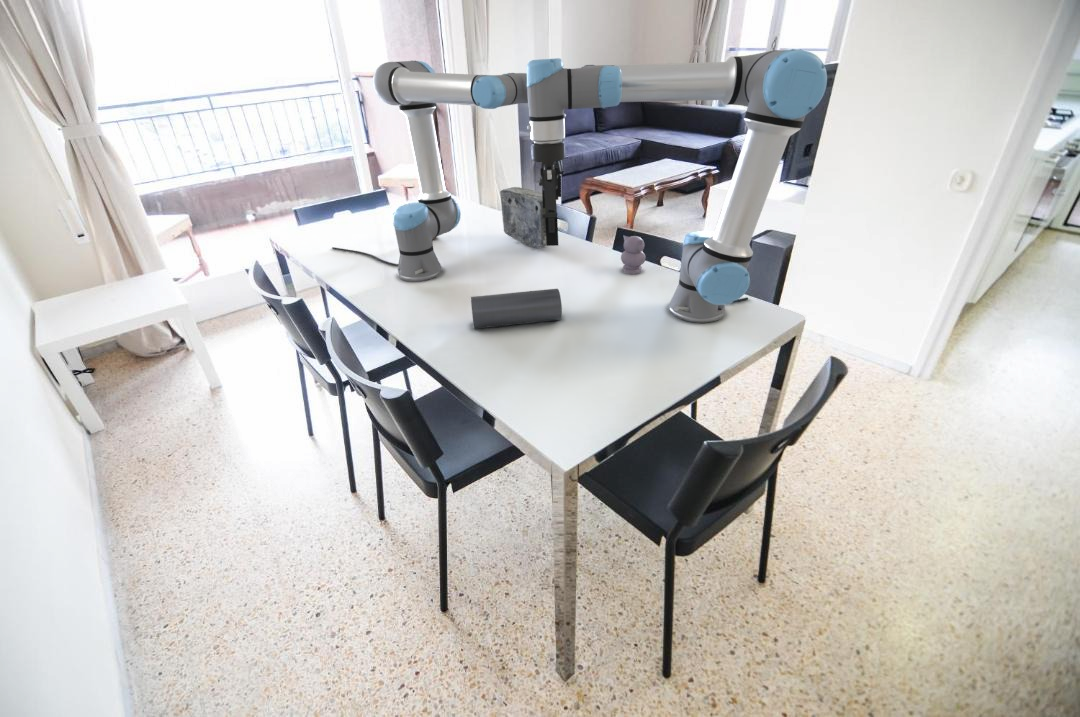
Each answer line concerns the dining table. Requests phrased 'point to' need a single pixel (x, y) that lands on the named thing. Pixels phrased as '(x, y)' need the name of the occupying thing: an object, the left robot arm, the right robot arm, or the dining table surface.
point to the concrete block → (524, 216)
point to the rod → (516, 308)
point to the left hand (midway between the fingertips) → (552, 202)
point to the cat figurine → (633, 254)
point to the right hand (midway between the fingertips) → (552, 236)
